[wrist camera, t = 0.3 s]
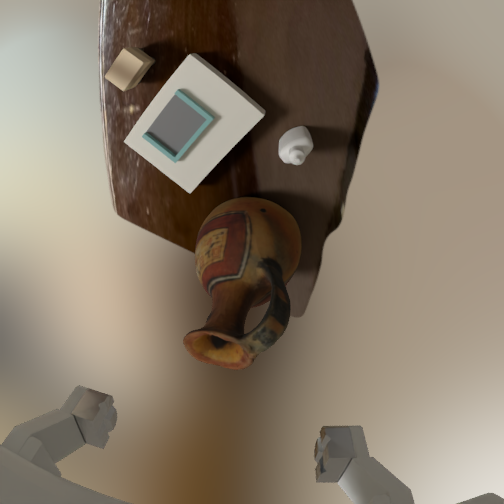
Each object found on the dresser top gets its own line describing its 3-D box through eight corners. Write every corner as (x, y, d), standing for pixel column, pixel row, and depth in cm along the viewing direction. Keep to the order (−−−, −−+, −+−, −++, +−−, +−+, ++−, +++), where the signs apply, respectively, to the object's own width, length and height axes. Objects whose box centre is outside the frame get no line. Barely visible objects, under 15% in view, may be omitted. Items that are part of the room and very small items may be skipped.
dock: (195, 53, 45) (187, 54, 41) (265, 110, 51) (264, 117, 47) (132, 135, 55) (121, 143, 51) (195, 184, 61) (188, 196, 57)
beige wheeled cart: (139, 46, 44) (123, 48, 39) (158, 59, 46) (143, 62, 41) (121, 72, 47) (104, 77, 42) (139, 85, 49) (123, 91, 44)
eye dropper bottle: (277, 127, 53) (276, 147, 43) (309, 124, 52) (316, 145, 42) (279, 149, 55) (279, 175, 46) (310, 148, 54) (317, 173, 45)
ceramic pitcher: (185, 219, 66) (135, 331, 42) (264, 168, 58) (248, 276, 34) (241, 279, 75) (223, 393, 51) (317, 241, 66) (330, 362, 43)
